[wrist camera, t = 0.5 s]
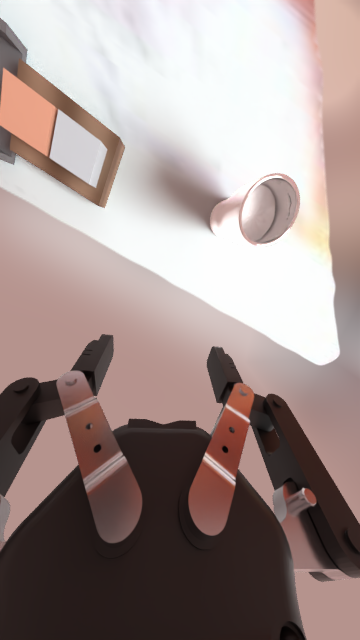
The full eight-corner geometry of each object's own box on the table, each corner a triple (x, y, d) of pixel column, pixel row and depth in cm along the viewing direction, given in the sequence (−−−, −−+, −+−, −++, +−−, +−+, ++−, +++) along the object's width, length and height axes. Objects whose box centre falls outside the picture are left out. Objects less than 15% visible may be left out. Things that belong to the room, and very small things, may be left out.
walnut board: (124, 147, 25) (119, 137, 22) (104, 207, 28) (98, 205, 26) (37, 78, 21) (19, 57, 19) (26, 157, 25) (9, 149, 22)
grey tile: (107, 149, 23) (101, 141, 21) (95, 188, 25) (89, 184, 23) (69, 121, 21) (58, 108, 19) (60, 164, 23) (49, 157, 21)
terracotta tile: (65, 118, 21) (54, 105, 19) (56, 162, 23) (45, 155, 21) (21, 85, 20) (3, 67, 18) (15, 134, 22) (-2, 124, 19)
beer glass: (205, 239, 32) (231, 247, 19) (209, 195, 29) (244, 168, 16) (240, 240, 33) (288, 248, 19) (247, 197, 29) (313, 172, 16)
